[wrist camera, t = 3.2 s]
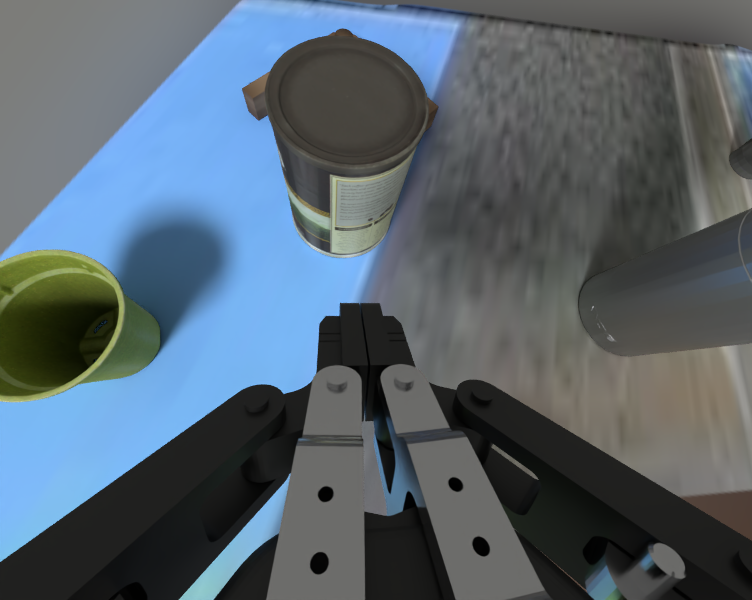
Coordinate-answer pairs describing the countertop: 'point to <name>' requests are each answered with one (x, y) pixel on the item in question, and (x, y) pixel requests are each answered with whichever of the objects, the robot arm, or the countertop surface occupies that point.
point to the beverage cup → (742, 160)
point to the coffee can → (344, 138)
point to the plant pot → (67, 325)
